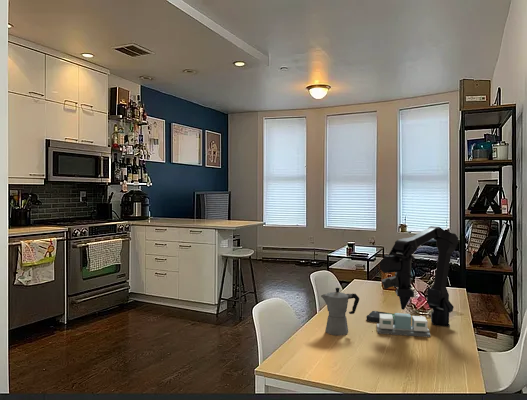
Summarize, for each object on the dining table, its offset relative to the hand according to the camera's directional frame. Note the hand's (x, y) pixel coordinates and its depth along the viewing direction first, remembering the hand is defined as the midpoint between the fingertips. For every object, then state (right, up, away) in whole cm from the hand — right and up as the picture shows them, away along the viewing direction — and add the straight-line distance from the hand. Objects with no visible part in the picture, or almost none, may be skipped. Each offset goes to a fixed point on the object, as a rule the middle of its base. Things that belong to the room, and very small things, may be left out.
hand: (402, 309), depth 179 cm
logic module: (0, -7, 0) cm, 7 cm away
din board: (0, -9, 0) cm, 9 cm away
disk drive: (-3, -9, +15) cm, 18 cm away
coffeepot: (-26, -9, -1) cm, 28 cm away
